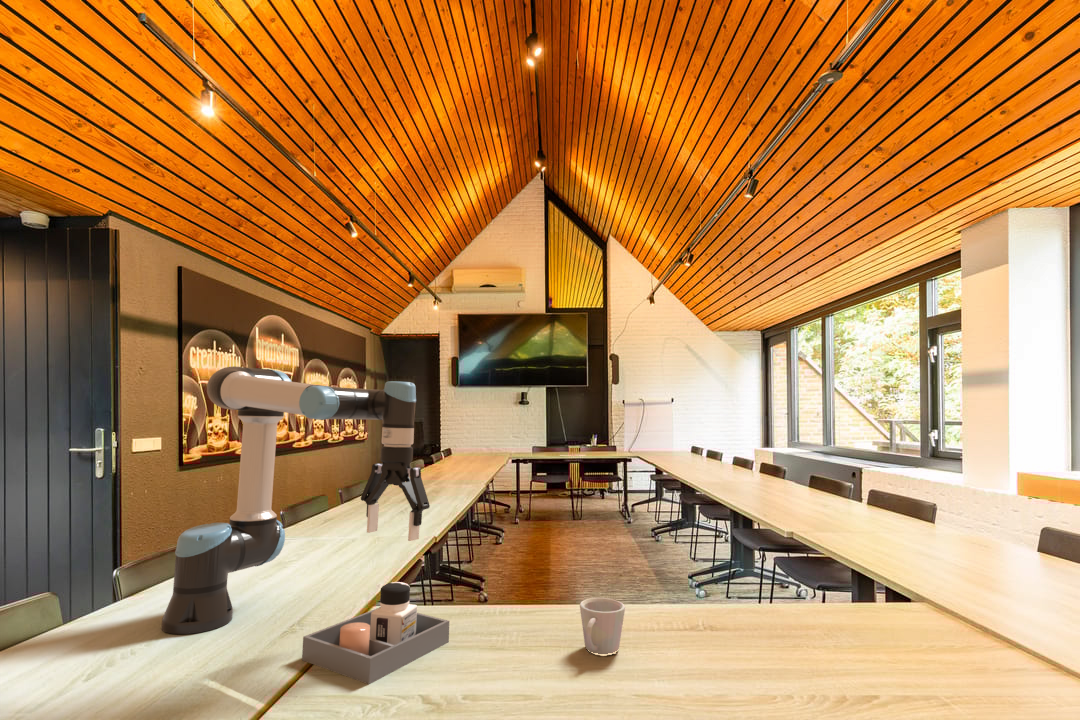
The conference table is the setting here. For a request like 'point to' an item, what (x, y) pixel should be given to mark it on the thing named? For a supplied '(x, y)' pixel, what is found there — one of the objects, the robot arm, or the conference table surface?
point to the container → (394, 615)
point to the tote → (373, 649)
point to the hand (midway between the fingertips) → (392, 535)
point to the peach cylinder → (355, 637)
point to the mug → (602, 624)
